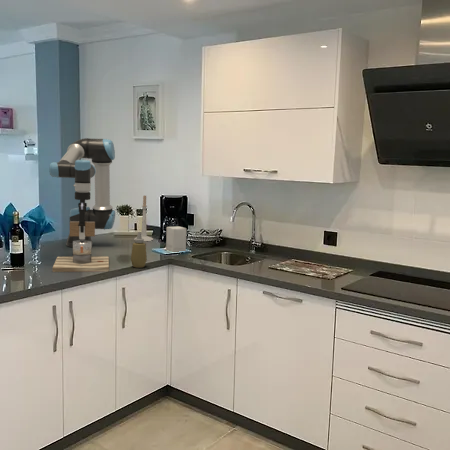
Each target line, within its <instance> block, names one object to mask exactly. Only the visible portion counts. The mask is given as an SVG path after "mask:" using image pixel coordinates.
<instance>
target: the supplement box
mask: <svg viewBox="0 0 450 450" xmlns="http://www.w3.org/2000/svg"><path fill="white" fill-rule="evenodd" d="M165 235H166V237H165V238H166V241H165V242H166V243H165V251H166V250H169V251H172V252H179V251H186V252H187V228H186V227H183V226H166V233H165Z"/></svg>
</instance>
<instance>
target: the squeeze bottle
mask: <svg viewBox="0 0 450 450" xmlns="http://www.w3.org/2000/svg"><path fill="white" fill-rule="evenodd" d="M136 237H137V238H136ZM136 237H135V238H136V239H135V241H134V242H133V243H132V246H131V253H130V255H131V256H130V261H131V265H132V267H133V268H145V267H146V263H147V261H148V259H147V245H146V242H144V239H142V237H141V231H138V232H137V236H136Z"/></svg>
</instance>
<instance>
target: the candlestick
mask: <svg viewBox="0 0 450 450" xmlns="http://www.w3.org/2000/svg"><path fill="white" fill-rule="evenodd" d="M142 199H143V200H142V205H141V207H142V221H141V231H140V232H141V237H142V239H144V241H151V240H153V239H154V238H153V237H151V236H148V234H147V207H148V206H147V195H143V197H142ZM136 238H137V236H136V237H134V239H133V241H134V240H135V239H136ZM153 241H154V240H153ZM151 242H152V241H151Z"/></svg>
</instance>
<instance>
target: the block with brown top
mask: <svg viewBox="0 0 450 450" xmlns="http://www.w3.org/2000/svg"><path fill="white" fill-rule="evenodd" d="M78 225H79V221H70V220H69V233H70V236H79V226H78ZM85 236H91V237H95V236H96V229H95V222H85ZM92 246H93V240H92V241H88V240H85V239H80V240H76V241H73V247H72V255H73V254H74V255H90V254H91V255H92V248H93V247H92Z"/></svg>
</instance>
